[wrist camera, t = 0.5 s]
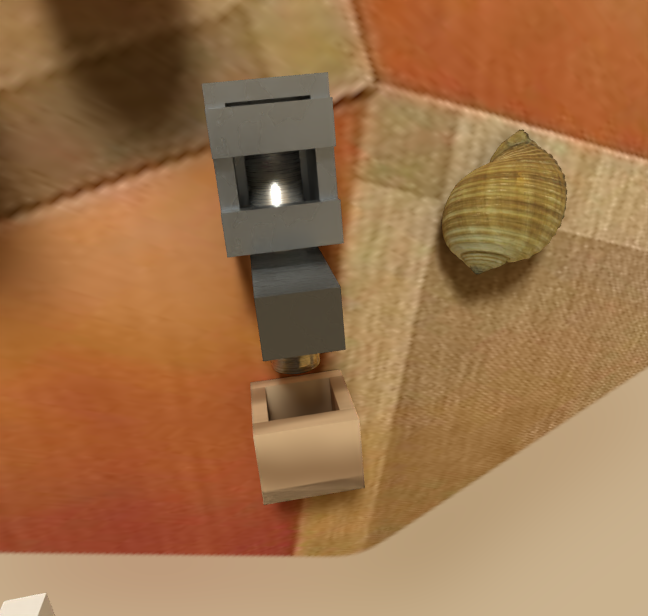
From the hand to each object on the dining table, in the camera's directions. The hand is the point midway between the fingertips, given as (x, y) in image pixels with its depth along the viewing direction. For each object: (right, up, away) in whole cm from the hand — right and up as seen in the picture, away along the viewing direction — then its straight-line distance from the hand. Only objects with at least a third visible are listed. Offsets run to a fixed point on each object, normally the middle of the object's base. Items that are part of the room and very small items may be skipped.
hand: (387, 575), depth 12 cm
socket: (-3, -2, +31) cm, 31 cm away
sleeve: (-5, +15, +24) cm, 29 cm away
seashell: (+10, +13, +28) cm, 32 cm away
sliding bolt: (-4, +10, +26) cm, 28 cm away
